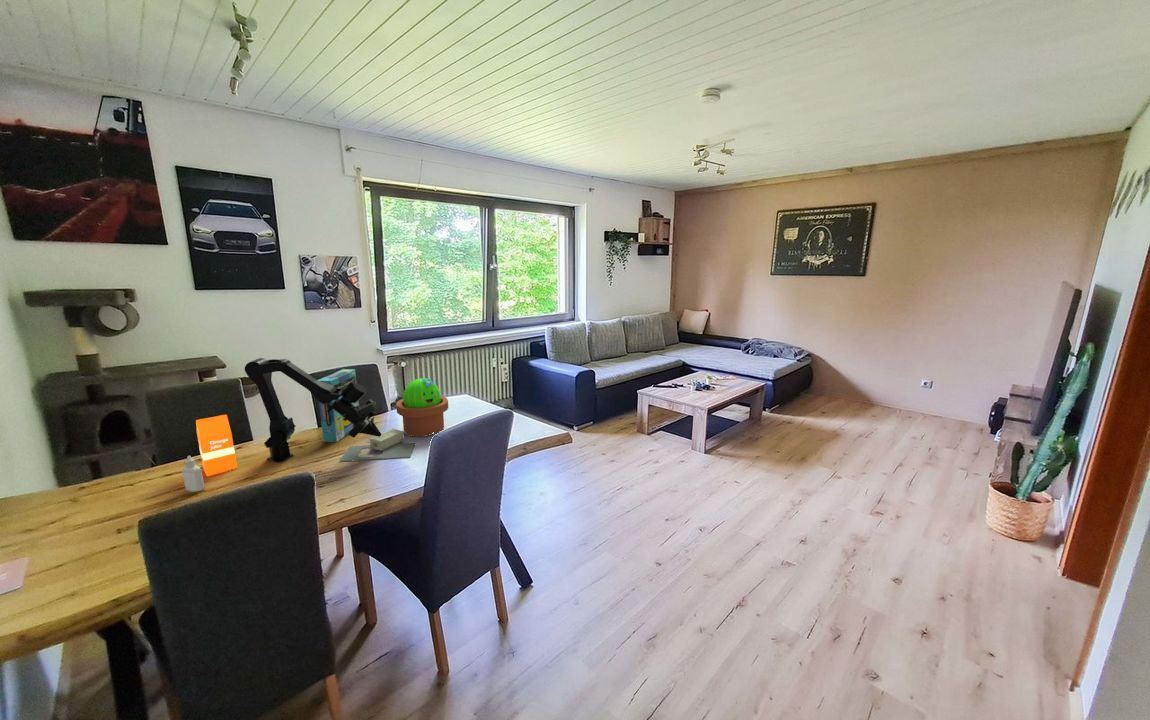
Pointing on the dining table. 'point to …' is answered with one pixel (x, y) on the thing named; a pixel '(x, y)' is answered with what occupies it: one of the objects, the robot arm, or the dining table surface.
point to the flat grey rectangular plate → (389, 453)
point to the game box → (333, 421)
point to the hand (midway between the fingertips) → (380, 435)
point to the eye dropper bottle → (192, 476)
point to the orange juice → (216, 444)
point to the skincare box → (386, 439)
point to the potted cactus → (422, 408)
